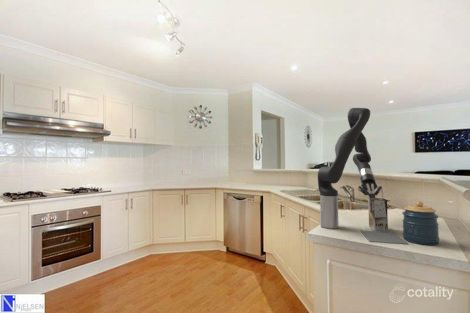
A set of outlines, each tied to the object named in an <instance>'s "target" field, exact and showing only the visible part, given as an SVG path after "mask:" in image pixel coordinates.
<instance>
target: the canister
mask: <svg viewBox="0 0 470 313" xmlns="http://www.w3.org/2000/svg"><path fill="white" fill-rule="evenodd" d="M401 213H402V215H403V219H401V220H402V231H403V232H402V236H403V240H404V241H406V242H408V243H409V242H410V243H413V244H417V245H426V246H437V245H439V243H440V237H439V223H438V218H439V217H440V216H439V215H438V214H436V209H434V208H432V206H428V205H424V203H423V201H416V202H415V204H410V205H409V204H408V205H407V206H405V207H404V211H402V212H401Z"/></svg>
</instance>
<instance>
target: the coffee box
mask: <svg viewBox="0 0 470 313" xmlns="http://www.w3.org/2000/svg"><path fill="white" fill-rule="evenodd" d="M367 204H368V227H369V228H370V229H371V231H380V232H389V224H388V222H389V221H388V220H389V218H388V199H384V198H381V197H375V198H369V197H368V198H367Z"/></svg>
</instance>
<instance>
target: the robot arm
mask: <svg viewBox="0 0 470 313" xmlns="http://www.w3.org/2000/svg"><path fill="white" fill-rule="evenodd" d="M370 117H371V110H370V108H367V107H351V108H350V109H349V110H348V112H347V122H348V124H349V128H348V130H346V131H345V132H343V133H342V134H341V135H340V136H339V138H338V139H337V142H336V143H335V145H334V146H335V147H334V152H335V159H334V160H333V162H332V165H331V166H322V167H320V168H319V169H318V171H317V186H318V191H319V199H320V200H319V206H320V207H319V216H320V217H319V220H320V221H319V222H320V227H321V228H325V229H338V228H339V193H338V189H336V188H334V187H333V184H337V183H338V182H340V180H341V178H342V175H343V172H344V170H345V167H346V165H347V163H348V160H349V158H350V156H351V153H352V151H355V152H356V153H354V155H353V156H352V161H353V163H354V165H355V166H356V167H357V169H358V173H359V175H358V176H359V179H360V183H361V185H359V186H358V188H357V191H359V192H360V193H362V194H363V196H368V198H376V196H378V195H379V194H380V192H381V190H382V189H383V187H382V186H380V185H378V184H377V183H376V180H375V175H374V173H373V171H372V167H371V165H370V164H369V163H371V161H372V157H371V154H370V153H369V150H368V144H367V142H368V141H367V138H366V136H365V134H364V133H363V132H362V131H363V130H364V129H365V126H366V125H367V123H368V122H369V119H370Z"/></svg>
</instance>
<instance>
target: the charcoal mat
mask: <svg viewBox="0 0 470 313" xmlns="http://www.w3.org/2000/svg"><path fill="white" fill-rule="evenodd" d="M360 232H361V233H362V235H363V236H364V237H365V238H366V240H368V241H369V242H370V243H381V244H397V245H409V242H408V241H407V240H405V239H404V238H402V237H401V236H399V235H398V234H397V233H395V232H394V231H393V232H392V231H388V232H380V231H374V230H362V229H361V230H360Z"/></svg>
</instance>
